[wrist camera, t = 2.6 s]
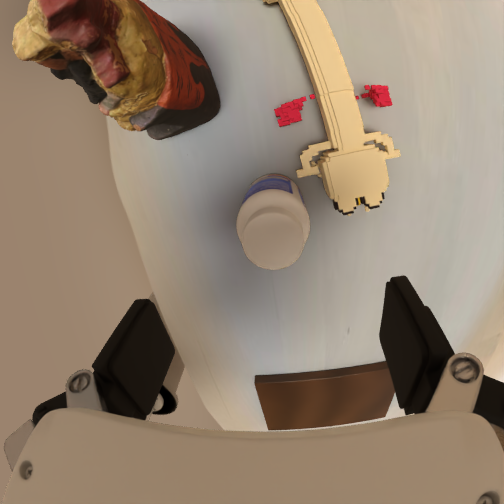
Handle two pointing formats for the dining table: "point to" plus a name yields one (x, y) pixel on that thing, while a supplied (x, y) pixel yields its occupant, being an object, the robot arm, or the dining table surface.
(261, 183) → the pill bottle
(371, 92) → the axolotl toy
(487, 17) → the dining table surface
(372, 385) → the board
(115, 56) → the statue
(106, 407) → the robot arm
